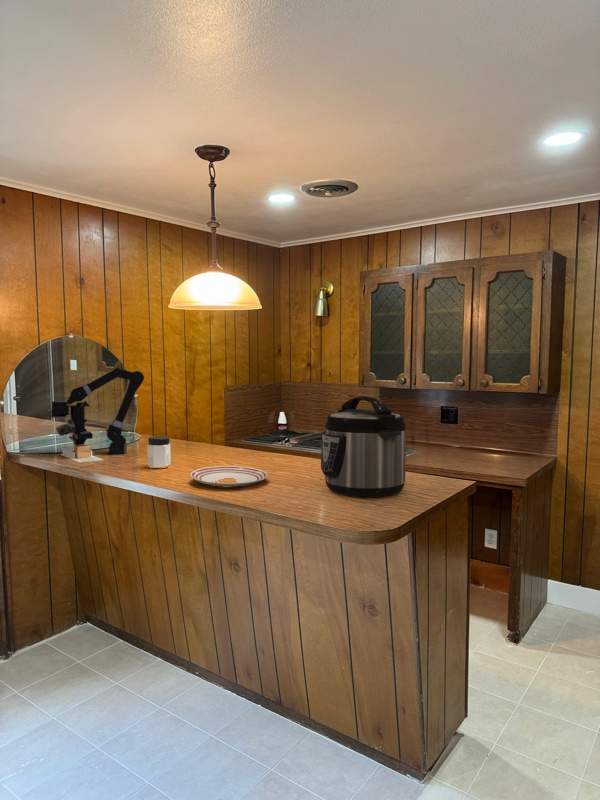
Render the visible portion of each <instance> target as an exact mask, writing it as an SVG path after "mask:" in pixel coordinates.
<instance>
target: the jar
mask: <svg viewBox="0 0 600 800" xmlns="http://www.w3.org/2000/svg"><path fill="white" fill-rule="evenodd" d="M147 439H148V440H147V441H148V444H147V445H146V448H147V449H146V451H147V454H146V455H147V459H146V460H147V462H146V463H147V464H146V465H148V466H152V467H164V466H168V465H170V464H171V443H170V442H171V441H170V440H171V439H170V437H169V436H165V435H163V436H159V435H158V436H149V437H148V438H147ZM148 466H147V467H148Z"/></svg>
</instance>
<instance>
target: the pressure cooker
mask: <svg viewBox="0 0 600 800" xmlns="http://www.w3.org/2000/svg"><path fill="white" fill-rule="evenodd" d="M360 401H366V402H368V403H370V404H371V406H372V408H373V409H370V408H358V405H359V403H360ZM326 417H327V418H326V422H325V427H324V428H325V429H324V431H322V434H321V435H322V436H321V437H322V438H321V447H320V448H321V449H320V451H321V452H320V454H321V455H320V470H321V471H322V474H323V475H324V481H325V485H326V487H327V488H328V489H329V490H330V491H331V492H334V493H336V494H341V495H345V496H354V497H358V498H360V497H361V498H370V497H371V498H373V497H384V496H387V495H396V494H398V493H400V492H402V490H403V489H404V486H405V483H406V463H407V462H406V454H407V453H406V451H407V450H406V447H407V446H406V442H407V441H406V440H407V439H406V438H407V424H406V422H405V420H404V419H405V418H404V415H402V414H397V413H394V412H392V409H391V408H390V406H389V405H387V404H385V403H384V402H382V401H381V400H379V399H377V398H375V397H371V396H365V395H361V396H355V397H352V398H351V399H349V400H347V401H345V402H344V403H343V404H341V409H340V408H339V409H337V412H335V413H331V414H328V415H327V416H326Z"/></svg>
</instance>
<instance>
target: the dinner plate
mask: <svg viewBox="0 0 600 800" xmlns="http://www.w3.org/2000/svg"><path fill="white" fill-rule="evenodd" d="M189 476H190V478H192V479H193V480H195V481H197V482H199V483H202V484H204V485H206V484H208V485H207V486H209V485H214V486H242V487H246V486H245V485H248V486H251V485H253V484H256V483H259V482H261V481H263V480H265V479H267V478H268V477H269V475H268V472H266V471H264V470H262V469H258V468H253V467H248V466H235V465H221V466H220V465H218V466H209V467H202V468H198V469H195V470H193V471H192V472H190V475H189ZM224 478H234V479H236V482H237V483H219V482H218V480H219V479H220V480H221V479H224ZM212 481H213V482H212ZM215 481H217V482H218V483H215ZM250 484H251V485H250Z"/></svg>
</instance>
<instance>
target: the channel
mask: <svg viewBox="0 0 600 800" xmlns="http://www.w3.org/2000/svg"><path fill="white" fill-rule="evenodd" d="M59 455H61V456H63V457H65V458H67V459H70V460H73V461H76V462H77V463H86V462H87V463H88V462H96V461H104V459H103V458H100V457H98V456H95V455H93V450H91V449H90V458H80V459H77V458H75V452H74V450H73V451H72V450H71V449H67V448H65V447H62V453H60V454H59Z"/></svg>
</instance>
